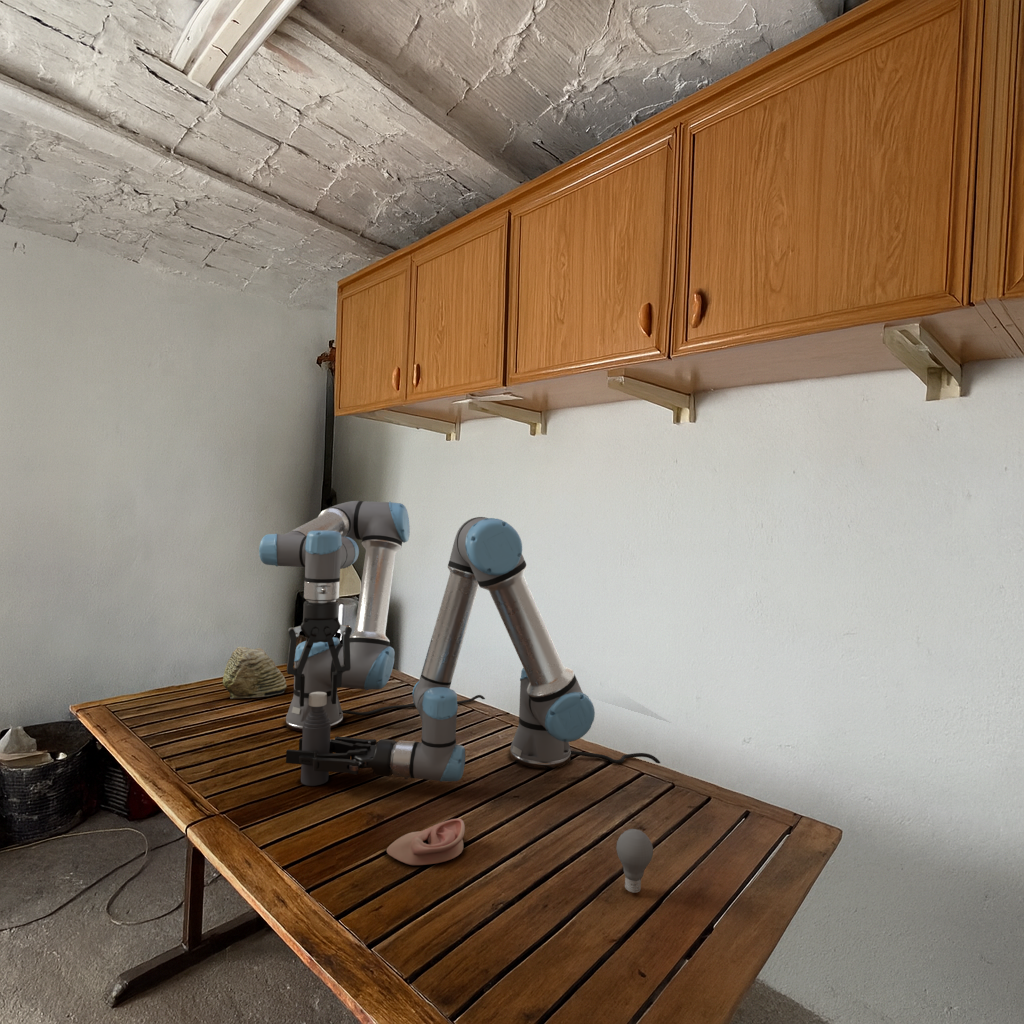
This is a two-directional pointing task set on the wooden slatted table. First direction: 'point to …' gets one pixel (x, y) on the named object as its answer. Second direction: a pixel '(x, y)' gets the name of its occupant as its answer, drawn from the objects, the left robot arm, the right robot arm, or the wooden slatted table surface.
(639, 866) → the light bulb
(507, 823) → the wooden slatted table surface
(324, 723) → the bottle
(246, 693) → the fossil
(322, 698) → the cap
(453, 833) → the anatomical model
